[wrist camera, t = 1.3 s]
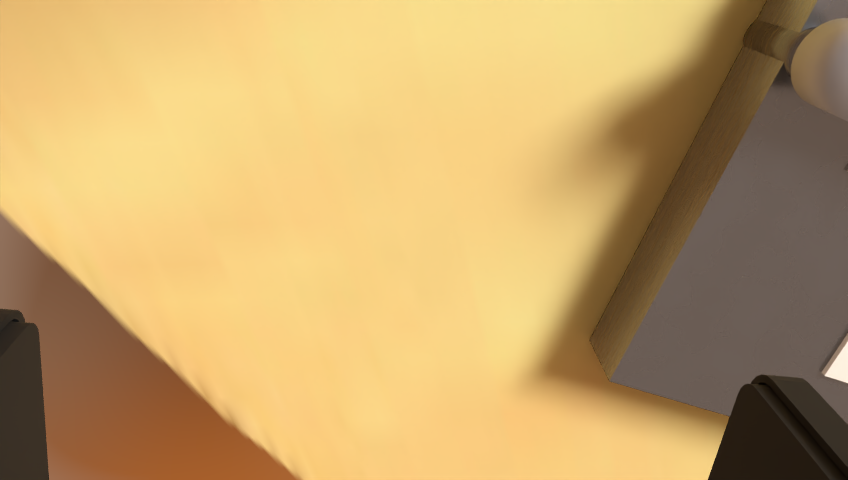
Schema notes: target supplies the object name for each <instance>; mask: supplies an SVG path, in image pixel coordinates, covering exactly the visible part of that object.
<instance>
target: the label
mask: <svg viewBox="0 0 848 480" xmlns="http://www.w3.org/2000/svg"><path fill="white" fill-rule="evenodd" d="M821 373H822V374H823V375H824V376H827V377H830V378H833V379H836V380H839V381H843V382H846V383H848V334H847V335H846V337H845V338H844V340H843V341H842V343H841V344H840V346H839V347H838V349H837V350H836V352H835V353H834V355H833V356H832V358H831V359H830V361H829V362H828V364H827V365H826V366H825V368H824V369H823V371H822V372H821Z"/></svg>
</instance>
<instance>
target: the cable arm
mask: <svg viewBox="0 0 848 480" xmlns="http://www.w3.org/2000/svg"><path fill="white" fill-rule="evenodd" d="M791 81H792V84H793V87H794V89H795V91H796V93H797V94H798V95H799V97H800V98H801V99H803V100H804V101H805V102H807V103H809V104H811V105H813V106H816V107H818V108H820V109H822V110H824V111H826V112H828V113H830V114H833V115H835V116H837V117H839V118H841V119H843V120H845V121H848V18H840V19H834V20H831V21H828V22H825V23H823V24H821V25H819V26H818V27H816V28H815V29H814V30H812V31H811V32H810V33H809V34H808V35H807V36H806V37H805V38H804V39H803V41H802V42H801V43H800V45H799V46H798V48H797V50H796V52H795V54H794V57H793V60H792V64H791Z"/></svg>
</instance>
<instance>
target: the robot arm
mask: <svg viewBox="0 0 848 480" xmlns="http://www.w3.org/2000/svg"><path fill="white" fill-rule="evenodd" d="M0 480H49V473H48V459H47V444H46V430H45V415H44V400H43V386H42V371H41V358H40V342H39V332H38V328H37V326H36V325H35V324H34V323H25V319H24V317H23V315H22V313H21V312H20V311H18V310H8V309H0ZM708 480H848V424H847V423H846V422H845V421H844V420H843V419H842V418H841V417H840V416H839V415H838V414H837V412H836V411H835V410H834V409H833V408H832V407H831V406H830V405H829V404H828V403H827V402H826V401H825V400H824V399H823V398H822V396H821V395H820V394H819V393H818V392H817V391H816V390H815V389H814V388H813V387H812V386H811V385H810V384H809V383H808V382H807V381H806V380H804V379H803V378H798V377H786V376H775V375H763V374H761V375H758V376H756V377H755V378H754V379H753V380H752V382H751V384H745V385H743V386H742V387H741V388H740V390H739V392H738V395H737V398H736V401H735V403H734V406H733V409H732V412H731V415H730V418H729V421H728V424H727V426H726V429H725V432H724V435H723V438H722V441H721V444H720V447H719V449H718V452H717V455H716V458H715V461H714V464H713V467H712V470H711V472H710V475H709V478H708Z"/></svg>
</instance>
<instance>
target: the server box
mask: <svg viewBox="0 0 848 480" xmlns="http://www.w3.org/2000/svg"><path fill="white" fill-rule="evenodd" d="M840 18H848V0H767V1H766V3H765V5H764V7H763V9H762V11H761V13H760V15H759V17H758V19H757V20H756V21H754V22H753V23H752V24H751V25H750V27H749V28H748V30H747V31H746V34H745V36H744V40H743V47H742V49H741V51H740V53H739V55H738V57H737V59H736V61H735V63H734V65H733V67H732V68H731V70H730V72H729V74H728V76H727V78H726V80H725V82H724V84H723V86H722V88H721V90H720V91H719V93H718V95H717V97H716V99H715V101H714V103H713V105H712V107H711V109H710V111H709V113H708V114H707V116H706V118H705V120H704V122H703V124H702V126H701V128H700V130H699V132H698V134H697V136H696V137H695V139H694V141H693V143H692V145H691V147H690V149H689V151H688V153H687V155H686V157H685V158H684V160H683V162H682V164H681V166H680V168H679V170H678V172H677V174H676V176H675V178H674V180H673V181H672V183H671V185H670V187H669V189H668V191H667V193H666V195H665V197H664V199H663V201H662V203H661V204H660V206H659V208H658V210H657V212H656V214H655V216H654V218H653V220H652V222H651V224H650V226H649V227H648V229H647V231H646V233H645V235H644V237H643V239H642V241H641V243H640V245H639V247H638V249H637V250H636V252H635V254H634V256H633V258H632V260H631V262H630V264H629V266H628V268H627V270H626V272H625V273H624V275H623V277H622V279H621V281H620V283H619V285H618V287H617V289H616V291H615V293H614V295H613V296H612V298H611V300H610V302H609V304H608V306H607V308H606V310H605V312H604V314H603V316H602V318H601V319H600V321H599V323H598V325H597V327H596V329H595V331H594V333H593V335H592V337H591V339H590V342H591V344H592V346H593V348H594V350H595V353H596V355H597V357H598V359H599V361H600V363H601V365H602V367H603V369H604V371H605V373H606V375H607V377H608V380H609V381H610V382H614V383H617V384H621V385H624V386H627V387H631V388H634V389H638V390H641V391H644V392H648V393H651V394H655V395H658V396H662V397H665V398H668V399H672V400H675V401H679V402H682V403H686V404H689V405H692V406H696V407H699V408H703V409H706V410H710V411H713V412H716V413H720V414H723V415H727V416H730V415H731V412H732V409H733V406H734V403H735V401H736V398H737V395H738V392H739V390H740V388H741V387H742V386H743V385H745V384H751V382H752V380H753V379H754V378H755V377H756V376H758V375H761V374H763V375H775V376H786V377H798V378H803V379H804V380H806V381H807V382H808V383H809V384H810V385H811V386H812V387H813V388H814V389H815V390H816V391H817V392H818V393H819V394H820V395H821V396H822V398H823V399H824V400H825V401H826V402H827V403H828V404H829V405H830V406H831V407H832V408H833V409H834V410H835V411H836V412H837V414H838V415H839V416H840V417H841V418H842V419H843V420H844V421H845V422H846V423H847V424H848V383H846V382H843V381H839V380H836V379H833V378H830V377H827V376H824V375H823V374H822V373H821V372H822V371H823V369H824V368H825V366H826V365H827V364H828V362H829V361H830V359H831V358H832V356H833V355H834V353H835V352H836V350H837V349H838V347H839V346H840V344H841V343H842V341H843V340H844V338H845V337H846V335H847V334H848V171H847V170H848V121H845V120H843V119H841V118H839V117H837V116H835V115H833V114H830V113H828V112H826V111H824V110H822V109H820V108H818V107H816V106H813V105H811V104H809V103H807V102H805V101H804V100H803V99H801V98H800V97H799V95H798V94H797V93H796V91H795V89H794V87H793V84H792V81H791V64H792V60H793V57H794V54H795V52H796V50H797V48H798V46H799V45H800V43H801V42H802V41H803V39H804V38H805V37H806V36H807V35H808V34H809V33H810V32H811V31H812V30H814V29H815V28H816V27H818V26H819V25H821V24H823V23H825V22H828V21H831V20H834V19H840Z"/></svg>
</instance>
